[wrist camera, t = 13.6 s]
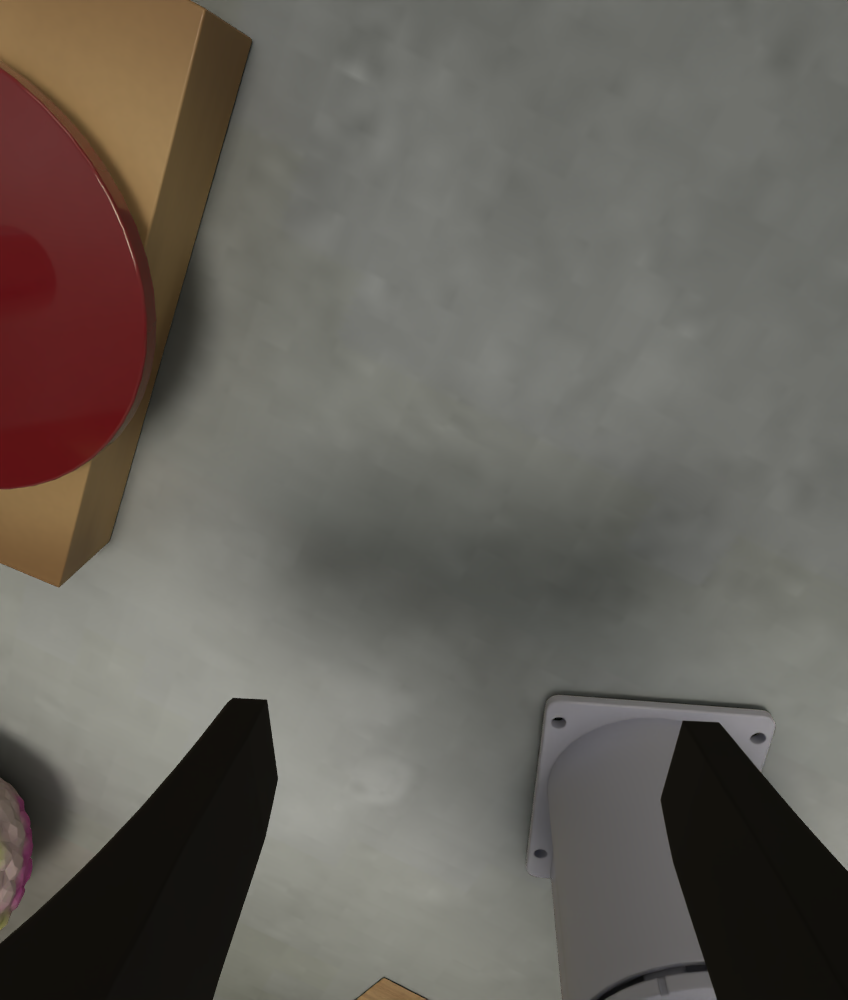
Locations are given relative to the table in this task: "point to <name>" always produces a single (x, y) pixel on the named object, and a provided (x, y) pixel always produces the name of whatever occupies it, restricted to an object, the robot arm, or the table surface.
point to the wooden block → (147, 192)
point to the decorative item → (13, 850)
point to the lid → (64, 295)
